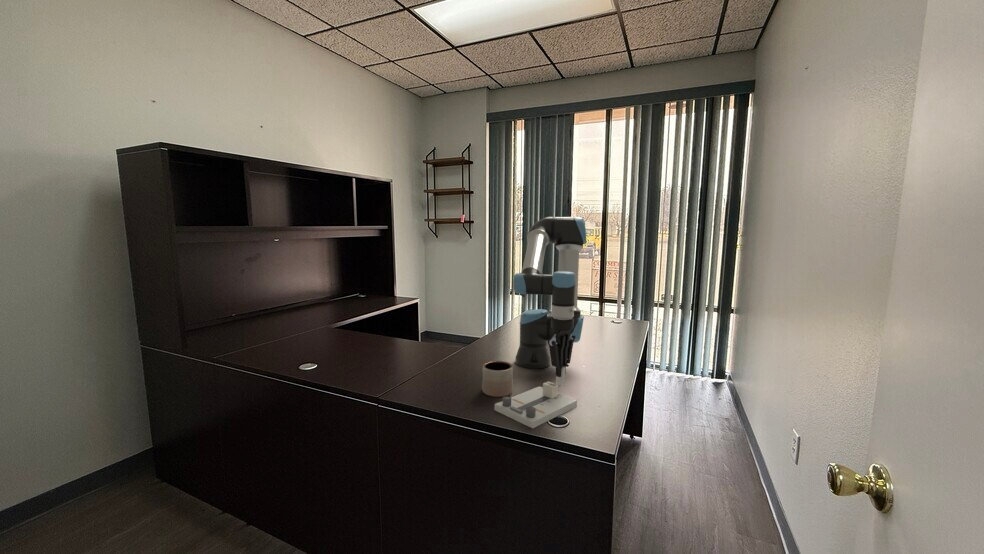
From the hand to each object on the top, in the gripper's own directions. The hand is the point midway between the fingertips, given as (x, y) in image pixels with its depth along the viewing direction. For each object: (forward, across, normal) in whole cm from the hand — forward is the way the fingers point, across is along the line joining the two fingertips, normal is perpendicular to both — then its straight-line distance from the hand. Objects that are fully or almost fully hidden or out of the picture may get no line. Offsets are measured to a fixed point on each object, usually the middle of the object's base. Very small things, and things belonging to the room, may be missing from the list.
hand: (560, 384), depth 134 cm
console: (+5, -12, 0) cm, 13 cm away
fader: (+2, -5, 0) cm, 6 cm away
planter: (+5, -12, +18) cm, 23 cm away
